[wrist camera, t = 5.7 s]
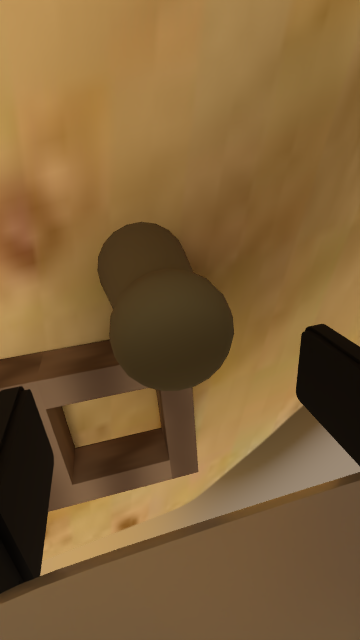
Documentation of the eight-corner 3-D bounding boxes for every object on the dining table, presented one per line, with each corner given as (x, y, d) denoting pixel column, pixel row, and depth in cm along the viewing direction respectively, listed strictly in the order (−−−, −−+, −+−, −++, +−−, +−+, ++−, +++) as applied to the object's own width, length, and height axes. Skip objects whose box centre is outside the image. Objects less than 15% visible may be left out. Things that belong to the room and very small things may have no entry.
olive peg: (185, 305, 23) (248, 402, 14) (102, 312, 22) (107, 425, 13) (187, 220, 21) (265, 269, 11) (92, 223, 20) (89, 281, 10)
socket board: (177, 327, 24) (189, 351, 21) (187, 440, 30) (198, 471, 27) (-157, 387, 20) (-201, 427, 17) (-74, 504, 26) (-97, 550, 23)
